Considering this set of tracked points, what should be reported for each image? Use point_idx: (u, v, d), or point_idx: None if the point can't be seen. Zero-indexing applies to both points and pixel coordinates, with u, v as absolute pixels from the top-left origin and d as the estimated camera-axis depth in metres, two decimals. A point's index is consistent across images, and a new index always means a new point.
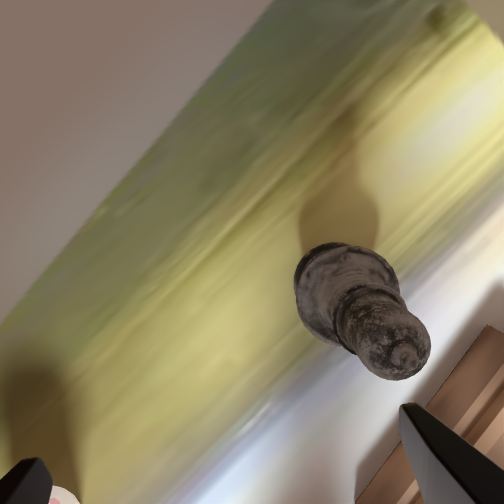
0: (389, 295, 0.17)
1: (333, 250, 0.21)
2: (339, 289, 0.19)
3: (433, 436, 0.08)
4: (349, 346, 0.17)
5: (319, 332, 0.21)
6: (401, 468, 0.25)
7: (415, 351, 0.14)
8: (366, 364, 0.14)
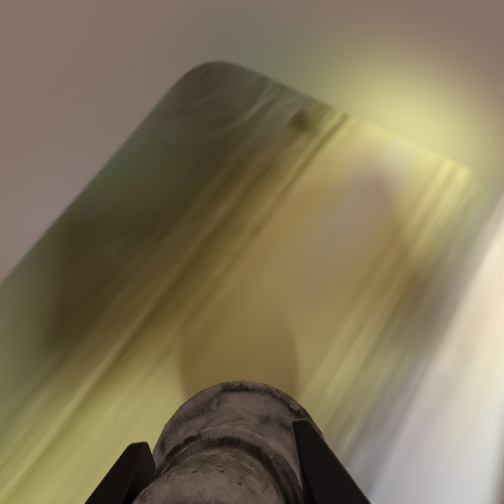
0: (247, 448, 0.08)
1: (200, 394, 0.13)
2: None
3: (308, 454, 0.08)
4: None
5: None
6: None
7: None
8: None
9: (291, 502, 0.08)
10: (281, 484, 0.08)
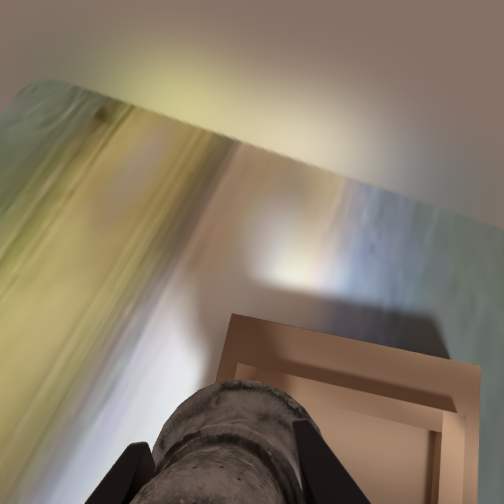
0: (246, 445, 0.08)
1: (199, 392, 0.13)
2: None
3: (308, 454, 0.08)
4: None
5: None
6: None
7: None
8: None
9: (290, 498, 0.08)
10: (280, 480, 0.08)
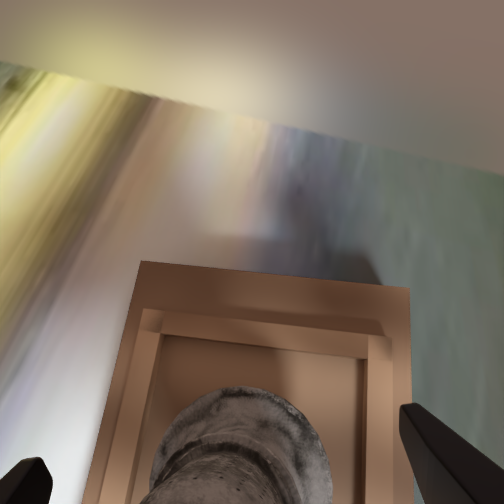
0: (246, 453, 0.09)
1: (200, 399, 0.13)
2: None
3: (433, 436, 0.08)
4: None
5: None
6: None
7: None
8: None
9: None
10: (279, 488, 0.08)
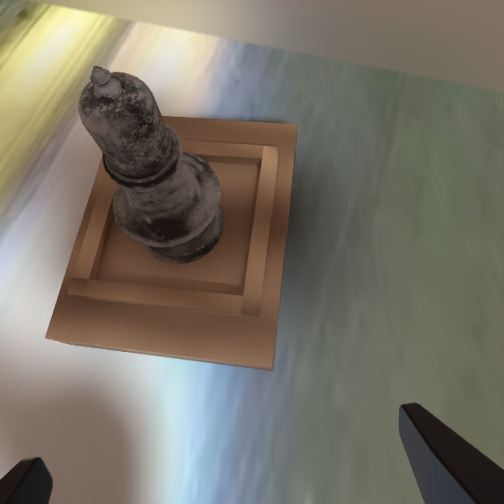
0: None
1: None
2: None
3: (433, 436, 0.08)
4: (120, 177, 0.16)
5: (138, 234, 0.19)
6: None
7: (118, 81, 0.13)
8: (84, 121, 0.13)
9: (174, 141, 0.16)
10: (170, 135, 0.17)
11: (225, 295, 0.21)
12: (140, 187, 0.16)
